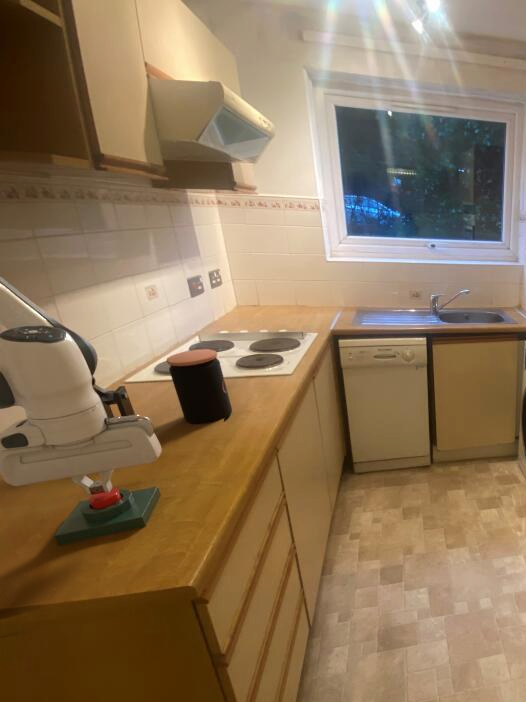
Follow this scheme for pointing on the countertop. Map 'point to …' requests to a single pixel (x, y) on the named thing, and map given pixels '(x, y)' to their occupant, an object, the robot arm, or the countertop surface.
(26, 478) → the robot arm
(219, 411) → the coffee jar
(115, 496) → the button
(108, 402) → the lever
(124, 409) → the bracket
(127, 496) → the button box
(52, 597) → the countertop surface
